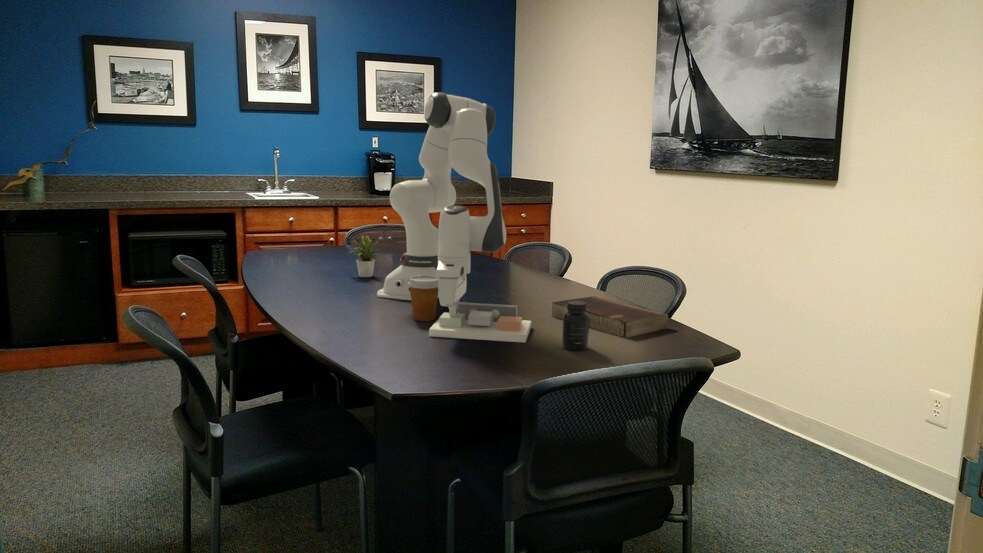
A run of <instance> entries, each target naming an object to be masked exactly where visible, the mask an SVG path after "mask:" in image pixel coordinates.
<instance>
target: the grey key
mask: <svg viewBox="0 0 983 553" xmlns="http://www.w3.org/2000/svg"><path fill="white" fill-rule="evenodd" d="M493 316H494V312H487V311H472V312H471V313H470V314H469V316H468V325H483V326H490V325H491V324H492V322H493Z"/></svg>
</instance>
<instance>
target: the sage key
mask: <svg viewBox="0 0 983 553" xmlns="http://www.w3.org/2000/svg"><path fill="white" fill-rule="evenodd" d="M438 319H439V326H442V327H458V328H461V327H462V326H463V324H464V323H465V314H462V313H458V314H457V315H456V316H455V317H450V316H449V312H446V311H445V312H443V313H442V314H441V315H440V316H439V318H438Z"/></svg>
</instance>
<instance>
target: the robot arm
mask: <svg viewBox="0 0 983 553" xmlns="http://www.w3.org/2000/svg"><path fill="white" fill-rule="evenodd" d="M496 118H497V116H496V112H495V110H494V107H492V106H491V105H489V104H487V103H485V102H483V103H481V102H479V101H477V100H475V99H472V98H469V97H464V96H459V95H454V94H447V93H445V92H434V93H432V94H431V95H430V96H429V97H428V98H427V101H426V103H425V105H424V119H425V121H426V123H427V125H429V127H428V129H427V131H426V134H425V136H424V140H423V143H422V146H421V150H420V152H419V156H418V161H419V164H420V166H421V168H422V169H424V171H423V172H424V173H423V174H424V175H423V178H422V179H412V180H404V181H401V182H398V183H396V184H394V185H393V187H392V188H391V190H390V193H389V203H390V205H391V207H392V209H393V210H394V211H395V212H396V213H397V214H398V215H399V216H400V218H401V220H402V223H403V224H404V229H405V235H406V236H405V237H406V252H404V253H403V254H402V255H401V256H400V258H399V259H400V260H399V261H400V265H399V266H398V267H397V268H395V269H393V271H391V272H390V273H389V274H388V275H386V277H385V279H384V282H383V288H380V289H378V290H377V293H376V296H377V298H384V299H385V298H386V299H393V300H394V299H395V300H405V301H411V293H410V286H409V284H408V282H409V280H410V278H411V277H416V276H432V277H437V278H439V279H438V288H439V290H438V298H437V299H438V300H439V305H440V306H442V307H448V310H449V311H448V313H449V316H450V317H455V316H456V315H457V314H458V305H459V302H460V300H461V298H462V297H463V296H464V295H465V294H466V293H467V274H468V275H469V274H470V273H471V251H475V252H476V251H477V252H485V253H492V254H495V253H497V252H499V251H500V250H501V249H502V248H503V247H504V246H505V245H506V241H507V229H506V225H505V222H504V215H503V207H502V198H501V196H502V194H501V189H500V180H499V173H498V170H497V166H496V164H495V163H494V162H492V161H491V160H490V159H489V157H488V156H489V155H488V149H487V148H488V136H491V134H492V133H493V130H494V129H495V125H496V121H497V120H496ZM452 169H453V170H454V171H455V172H456V173H457V174H458V175H460V176H461V177H464V178H466V179H469V180H471V181H473V182H476V183H478V184H479V185H481V186H482V187H483V188H484V189H485V195H486V204H487V212H488V213H487V215H485V216H471V215H470V211H469V208H467V207H466V206H463V205H459V204H458V205H457V204H456V200H457V192H456V188H455V186H454V185H453V183H452V179H451V176H452ZM433 213H440V214H439V219H438V220H439V221H438V225H437V227H436V226H435V225H433V223H432V221H431V218H430V214H433Z"/></svg>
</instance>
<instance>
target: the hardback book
mask: <svg viewBox="0 0 983 553" xmlns="http://www.w3.org/2000/svg"><path fill="white" fill-rule="evenodd" d="M569 301H582V302H585V303H586V311H585V312H586V313H587V314H588V315H589V329H594V330H596V331H599V332H604V333H607V334H610V335H611V334H612V335H614V336H618V337H621V338H625V339H626V338H630V337H635V336H639V335H644V334H648V333H652V332H657V331H661V330H662V331H663V330H665V329H668V327H669V314H668V313H664V312H660V311H655V310H650V309H647V308H643V307H638V306H635V305H631V304H627V303H622V302H618V301H614V300H610V299H607V298H602V297H598V296H587V297H580V298H574V299H566V300H560V301H553V302H552V303H551V304H552V305H551V317H552V318H556V319H558V318H559V319H558V320H562V321H563V315H564V313H566V312H567V311H568V310H567V303H568V302H569Z"/></svg>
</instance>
